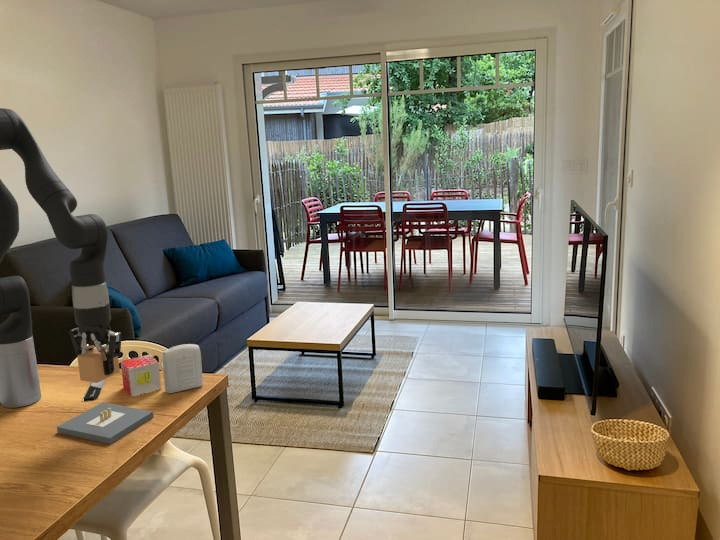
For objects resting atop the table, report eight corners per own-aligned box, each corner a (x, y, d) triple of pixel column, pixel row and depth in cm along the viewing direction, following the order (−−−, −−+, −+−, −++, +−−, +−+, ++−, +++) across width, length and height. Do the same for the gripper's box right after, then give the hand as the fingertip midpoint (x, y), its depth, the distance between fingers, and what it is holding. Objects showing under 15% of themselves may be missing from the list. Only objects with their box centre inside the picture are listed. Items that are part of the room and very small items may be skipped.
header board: (57, 432, 137) (55, 418, 136) (103, 407, 150) (101, 394, 149) (110, 444, 131) (108, 429, 131) (153, 417, 144) (152, 403, 143)
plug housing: (80, 380, 136) (77, 355, 134) (103, 369, 142) (100, 345, 141) (96, 383, 134) (93, 358, 132) (119, 371, 140) (117, 348, 139)
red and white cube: (131, 397, 156) (128, 369, 154) (123, 387, 162) (120, 360, 160) (161, 389, 160) (158, 362, 159) (152, 380, 167) (150, 354, 165)
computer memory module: (92, 378, 168) (107, 376, 168) (92, 381, 168) (107, 380, 169) (81, 399, 154) (97, 398, 154) (81, 403, 154) (98, 401, 155)
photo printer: (200, 381, 165) (196, 339, 163) (205, 386, 162) (202, 343, 159) (163, 390, 160) (159, 347, 157) (167, 395, 156) (163, 351, 154)
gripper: (54, 304, 133) (64, 375, 137) (102, 309, 128) (111, 382, 132) (80, 296, 140) (89, 363, 144) (127, 300, 135) (135, 370, 138)
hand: (100, 372), depth 138 cm, fingers closed on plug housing, 5 cm apart
